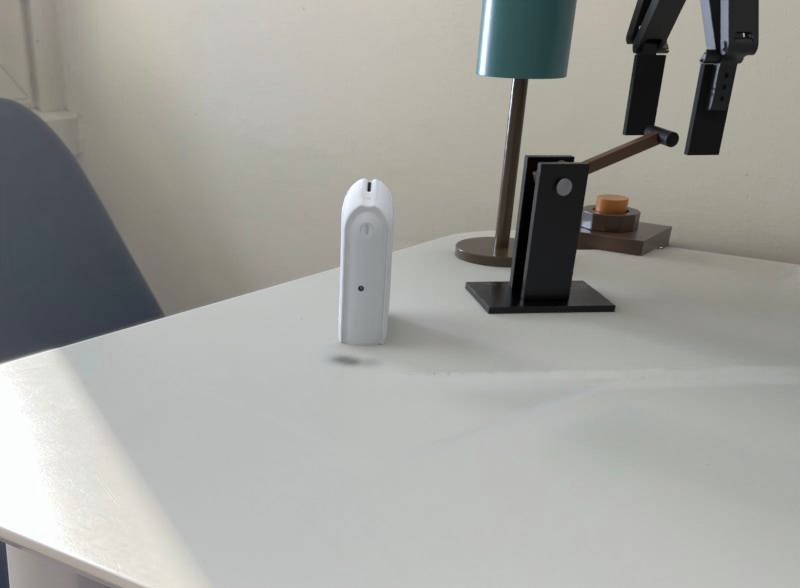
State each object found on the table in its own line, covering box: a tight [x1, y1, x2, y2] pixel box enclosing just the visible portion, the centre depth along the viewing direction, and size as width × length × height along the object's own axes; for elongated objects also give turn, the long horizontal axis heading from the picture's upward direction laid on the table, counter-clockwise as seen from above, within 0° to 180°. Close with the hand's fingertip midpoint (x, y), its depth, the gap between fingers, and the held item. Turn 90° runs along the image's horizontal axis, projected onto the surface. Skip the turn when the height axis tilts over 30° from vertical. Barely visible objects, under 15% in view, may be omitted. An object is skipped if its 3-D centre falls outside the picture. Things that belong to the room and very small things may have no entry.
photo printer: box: [337, 177, 395, 347], centre depth 83 cm, size 10×4×12 cm, turn 177°
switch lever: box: [533, 125, 680, 183], centre depth 89 cm, size 12×5×2 cm, turn 97°
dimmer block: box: [577, 204, 673, 257], centre depth 116 cm, size 12×10×4 cm
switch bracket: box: [464, 154, 616, 315], centre depth 92 cm, size 12×9×13 cm
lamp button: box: [595, 193, 630, 214], centre depth 114 cm, size 4×4×2 cm
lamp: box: [454, 0, 578, 268], centre depth 103 cm, size 10×10×25 cm
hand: (667, 144), depth 88 cm, fingers open, 13 cm apart
